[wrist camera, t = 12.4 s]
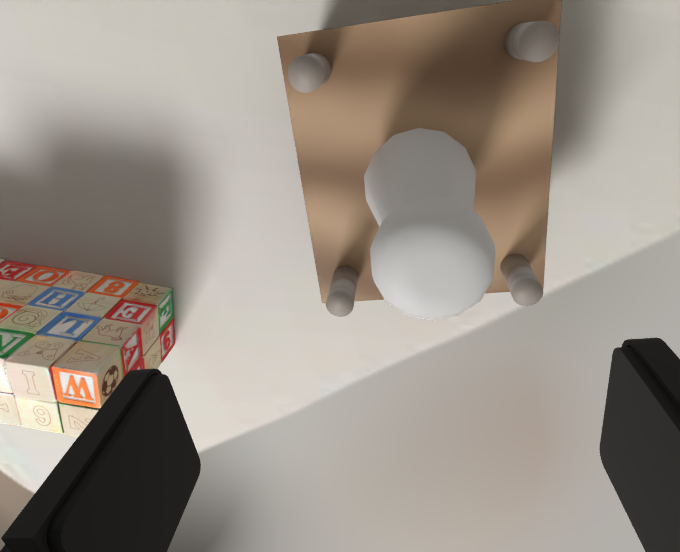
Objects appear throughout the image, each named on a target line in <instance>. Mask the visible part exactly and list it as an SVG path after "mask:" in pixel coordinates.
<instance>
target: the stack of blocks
mask: <svg viewBox="0 0 680 552" xmlns="http://www.w3.org/2000/svg"><path fill="white" fill-rule="evenodd" d="M174 344H175V338H174V318H173V295H172V288H168V287H162V286H157V285H151V284H145V283H140V282H138V281H133V280H127V279H121V278H116V277H110V276H104V275H99V274H94V273H88V272H81V271H75V270H73V271H68V270H62V269H56V268H50V267H44V266H35V265H30V264H24V263H18V262H12V261H6V260H4V259H0V423H4V424H9V425H16V426H23V427H26V428H32V429H38V430H44V431H49V432H56V433H65V434H66V435H69V436H74V437H79V435H80V434H81V433H82V431H83V430H84V429H85V428H86V426H87V425H88V424H89V422H90V421H91V420H92V418H93V417H94V416H95V414H96V413H97V412H98V411H99V409H100V408H101V407H102V405H103V404H104V403H105V401H106V400H107V399H108V397H109V396H110V395H111V393H112V392H113V391H114V390H115V388H116V387H117V386H118V384H119V383H120V382H121V380H122V379H123V378H124V376H125V375H126V374H127V373H128V372H129V371H131V370H138V369H154V368H155V369H158V367H159V365H160V364H161V363H162V362H163V361H164V359H165V358H166V356H167V355H168V353H169V352H170V351H171V349H172V348H173V346H174Z"/></svg>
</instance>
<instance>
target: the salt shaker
mask: <svg viewBox="0 0 680 552" xmlns="http://www.w3.org/2000/svg"><path fill="white" fill-rule="evenodd" d="M475 181H476V169H475V167H474V165H473V163H472V161H471V159H470V156H469V154H468V152H467V150H466V148H465V147H464V146H462V145H461V144H460V143H459V142H457V141H456V140H455V139H453V138H452V137H451V136H449V135H448V134H447V133H445V132H442V131H436V130H429V129H423V128H416V129H413V130H409V131H406V132H402V133H399V134H396V135H393V136H392V137H391V138H390V139H389V140H388V141H387V142H386V143H385V144H383V145H382V146H381V147H380V148H379V149H378V150H377V151H376V152H375V153H374V155H373V157H372V159H371V161H370V164H369V166H368V168H367V170H366V173H365V175H364V183H365V195H366V201H367V203H368V205H369V207H370V209H371V211H372V213H373V215H374V217H375V219H376V221H377V223H378V225H379V229H378V232H377V234H376V236H375V238H374V240H373V242H372V245H371V249H370V254H371V268H372V276H373V280H374V283H375V284H376V286H377V288H378V289H379V291H380V293H381V294H382V296H383V298H384V299H385V301H386V303H388V304H389V305H391V306H393V307H394V308H396V309H397V310H399V311H400V312H402V313H404V314H405V315H407V316H411V317H416V318H421V319H427V320H432V321H433V320H438V319H442V318H447V317H452V316H456V315H459V314H461V313H462V312H464V311H465V310H467V309H469V308H470V307H472V306H473V305H475V304H476V303H478V302H479V301H481V299H482V297H483V296H484V294H485V292H486V291H487V289H488V287H489V286H490V284H491V282H492V281H493V279H494V266H495V244H494V242H493V240H492V238H491V236H490V234H489V232H488V230H487V228H486V226H485V224H484V222H483V220H482V218H481V217H480V216H479V215H478V214H477V213H475V212H474V211H473V209H474V198H475Z"/></svg>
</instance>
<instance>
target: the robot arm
mask: <svg viewBox="0 0 680 552" xmlns="http://www.w3.org/2000/svg"><path fill="white" fill-rule="evenodd" d="M600 456H601V460H602V463H603V466H604V468H605V470H606V472H607V474H608V476H609V478H610V480H611V482H612V484H613V486H614V488H615V490H616V492H617V494H618V496H619V499H620V500H621V502H622V505H623V507H624V509H625V511H626V513H627V515H628V517H629V519H630V521H631V523H632V525H633V527H634V529H635V531H636V533H637V535H638V537H639V539H640V541H641V543H642V545H643V547H644V549H645V552H680V359H679V358H678V357H677V356H676V355H675V353H674V352H673V351H672V350H671V349H670V348H669V347H668V346H667V344H666V343H665V342H664V341H663V340H662V339H660V338H646V339H629V340H626V341H624V343H623V344H622V347H621V348H615V349H614V351H613V355H612V362H611V369H610V377H609V384H608V391H607V399H606V405H605V413H604V420H603V427H602V434H601V441H600ZM200 465H201V464H200V459H199V456H198V453H197V450H196V448H195V445H194V443H193V440H192V437H191V435H190V432H189V430H188V427H187V424H186V422H185V419H184V417H183V414H182V411H181V409H180V406H179V404H178V401H177V398H176V396H175V393H174V390H173V388H172V385H171V383H170V380H169V378H168V376H166V375H164V374H163V375H162V373H161V371H159V370H158V369H155V368H154V369H138V370H131V371H129V372H128V373H127V374H126V375H125V376H124V378H123V379H122V380H121V382H120V383H119V384H118V386H117V387H116V388H115V390H114V391H113V392H112V393H111V395H110V396H109V397H108V399H107V400H106V401H105V403H104V404H103V405H102V407H101V408H100V409H99V411H98V412H97V413H96V414H95V416H94V417H93V418H92V420H91V421H90V422H89V424H88V425H87V426H86V428H85V429H84V430H83V431H82V433H81V434H80V435H79V437H78V438H77V439H76V441H75V442H74V443H73V445H72V446H71V447H70V449H69V450H68V451H67V452H66V454H65V455H64V456H63V458H62V459H61V460H60V462H59V463H58V464H57V466H56V467H55V468H54V470H53V471H52V472H51V473H50V475H49V476H48V477H47V479H46V480H45V481H44V483H43V484H42V485H41V487H40V488H39V489H38V490H37V492H36V493H35V494H34V496H33V497H32V498H31V500H30V501H29V502H28V504H27V505H26V506H25V508H24V509H23V510H22V512H21V513H20V514H19V515H18V517H17V518H16V519H15V521H14V522H13V523H12V525H11V526H10V527H9V529H8V530H7V531H6V533H5V534H4V535H3V536H2V538H1V539H2V540H3V542H4V543H5V546H4V547H3V549H2V550H1V551H0V552H167V550H168V547H169V545H170V543H171V540H172V538H173V536H174V533H175V531H176V528H177V526H178V524H179V522H180V519H181V517H182V514H183V512H184V509H185V508H186V505H187V503H188V500H189V498H190V496H191V493H192V491H193V489H194V486H195V484H196V482H197V479H198V477H199V474H200Z"/></svg>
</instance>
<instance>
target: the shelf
mask: <svg viewBox="0 0 680 552" xmlns="http://www.w3.org/2000/svg"><path fill="white" fill-rule="evenodd" d="M561 2H562V0H515V1H509V2H502V3H496V4H489V5H482V6H476V7H469V8H463V9H456V10H450V11H443V12H436V13H430V14H423V15H417V16H410V17H403V18H397V19H390V20H384V21H377V22H371V23H364V24H357V25H351V26H344V27H338V28H331V29H325V30H318V31H311V32H305V33H298V34H292V35H285V36H279V37H277V40H278V46H279V52H280V58H281V64H282V70H283V75H284V81H285V87H286V93H287V99H288V105H289V111H290V117H291V122H292V128H293V134H294V140H295V146H296V152H297V158H298V164H299V170H300V175H301V181H302V187H303V193H304V199H305V205H306V211H307V217H308V222H309V228H310V234H311V240H312V246H313V252H314V258H315V264H316V270H317V275H318V281H319V287H320V293H321V299H322V303H326V307H327V309H328V311H329V312H330V313H331V314H333V315H335V316H339V317H342V316H346V315H348V314H349V313H351V311H352V310H353V306H354V301H366V300H383V299H384V298H383V296H382V294H381V293H380V291H379V289H378V288H377V286H376V284H375V283H374V280H373V276H372V268H371V254H370V249H371V245H372V242H373V240H374V238H375V236H376V234H377V232H378V229H379V225H378V223H377V221H376V219H375V217H374V215H373V213H372V211H371V209H370V207H369V205H368V203H367V201H366V195H365V183H364V175H365V173H366V170H367V168H368V166H369V164H370V161H371V159H372V157H373V155H374V153H375V152H376V151H377V150H378V149H379V148H380V147H381V146H382V145H383V144H385V143H386V142H387V141H388V140H389V139H390V138H391V137H392V136H393V135H396V134H399V133H402V132H406V131H409V130H413V129H416V128H423V129H429V130H436V131H442V132H445V133H447V134H448V135H449V136H451V137H452V138H453V139H455V140H456V141H457V142H459V143H460V144H461V145H462V146H464V147H465V148H466V150H467V152H468V154H469V156H470V159H471V161H472V163H473V165H474V167H475V169H476V181H475V198H474V209H473V211H474V212H475V213H477V214H478V215H479V216H480V217H481V218H482V220H483V222H484V224H485V226H486V228H487V230H488V232H489V234H490V236H491V238H492V240H493V242H494V244H495V266H494V279H493V281H492V282H491V284H490V286H489V287H488V289H487V291H486V292H485V293H497V292H511V295H512V297H513V299H514V301H515V302H516V303H517V304H519V305H522V306H531V305H534V304H536V303H537V302H538V301H539V300H540V299H541V298H542V295H543V284H544V268H545V252H546V237H547V221H548V205H549V190H550V174H551V159H552V143H553V127H554V112H555V96H556V80H557V65H558V49H559V34H560V18H561Z"/></svg>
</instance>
